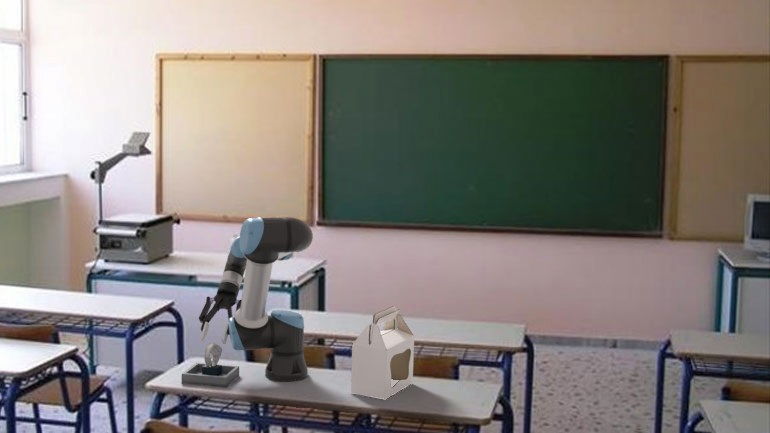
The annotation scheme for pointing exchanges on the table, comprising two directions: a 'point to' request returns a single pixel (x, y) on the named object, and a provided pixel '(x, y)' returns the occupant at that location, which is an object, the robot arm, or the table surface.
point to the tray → (210, 376)
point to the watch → (212, 366)
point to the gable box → (382, 356)
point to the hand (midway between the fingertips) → (212, 340)
